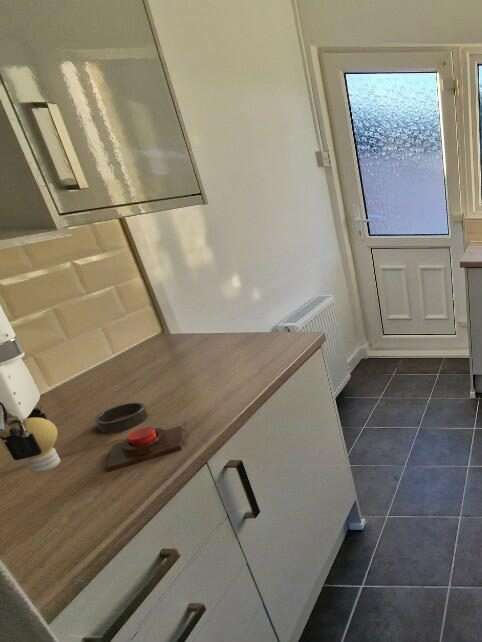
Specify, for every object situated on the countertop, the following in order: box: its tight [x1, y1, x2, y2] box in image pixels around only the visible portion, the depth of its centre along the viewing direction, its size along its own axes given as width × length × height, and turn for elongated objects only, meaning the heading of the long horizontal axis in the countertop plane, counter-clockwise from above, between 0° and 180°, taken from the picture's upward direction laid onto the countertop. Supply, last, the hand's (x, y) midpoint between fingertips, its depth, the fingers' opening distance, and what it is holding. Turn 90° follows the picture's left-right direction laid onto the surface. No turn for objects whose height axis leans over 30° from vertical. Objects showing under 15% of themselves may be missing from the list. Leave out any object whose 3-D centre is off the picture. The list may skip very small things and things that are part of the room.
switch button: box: [127, 426, 157, 446], centre depth 89 cm, size 4×4×2 cm
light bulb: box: [0, 417, 61, 474], centre depth 73 cm, size 6×6×10 cm
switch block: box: [105, 425, 184, 473], centre depth 89 cm, size 12×9×3 cm
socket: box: [94, 401, 149, 434], centre depth 97 cm, size 9×9×4 cm
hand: (34, 444), depth 73 cm, fingers closed on light bulb, 6 cm apart
